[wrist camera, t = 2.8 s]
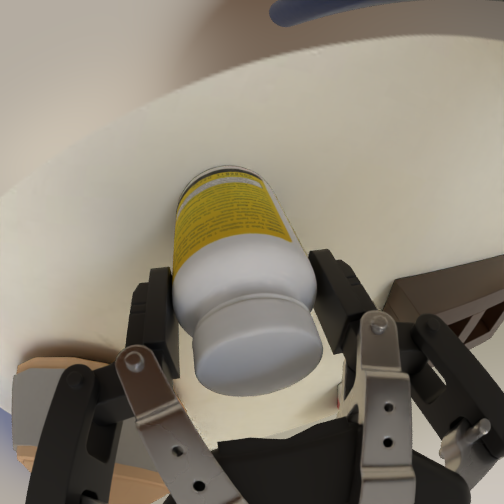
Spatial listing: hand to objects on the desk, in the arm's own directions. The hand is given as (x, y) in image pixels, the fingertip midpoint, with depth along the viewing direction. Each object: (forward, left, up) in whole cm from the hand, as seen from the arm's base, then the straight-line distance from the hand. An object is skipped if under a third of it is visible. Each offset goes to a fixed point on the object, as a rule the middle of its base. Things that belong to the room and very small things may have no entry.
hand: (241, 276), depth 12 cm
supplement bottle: (0, 0, -6) cm, 6 cm away
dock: (+13, +23, -5) cm, 27 cm away
